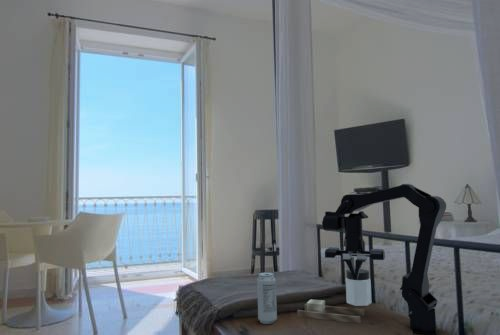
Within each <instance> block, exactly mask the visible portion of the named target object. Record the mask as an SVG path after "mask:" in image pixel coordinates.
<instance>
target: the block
mask: <svg viewBox="0 0 500 335" xmlns="http://www.w3.org/2000/svg"><path fill="white" fill-rule="evenodd" d="M306 304H307V310H306V311H314V312H324V313H327V312H326V311H325V306H326V300H322V299H309V300H308V301H307V302H306Z"/></svg>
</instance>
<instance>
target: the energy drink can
mask: <svg viewBox="0 0 500 335" xmlns="http://www.w3.org/2000/svg"><path fill="white" fill-rule="evenodd" d="M274 275H275V274H274V273H273V272H259V274H258V277H257V279H256V284H257V286H256V287H257V288H256V289H257V290H256V291H257V320H258V321H259V323H261V324H264V325H272V324H275V322H276V320H277V319H278V313H277V306H278V305H277V280H276V277H275V276H274Z"/></svg>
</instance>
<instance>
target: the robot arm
mask: <svg viewBox="0 0 500 335" xmlns="http://www.w3.org/2000/svg"><path fill="white" fill-rule="evenodd" d="M403 198H404V199H406V200H408V201H409V203H411V204H412V205H413V206H416V207H417V208H418V219H419V224H420V225H419V231H418V236H417V240H416V245H415V251H414V255H413V260H412V266H411V270H410V272H409V273H408V274H405V275H404V276H402V279H401V283H402V284H401V287H400V288H399V291H401V297H402V298H403V301H405V302H406V303H407V306H408V309H409V311H410V312H409V325H410V326H409V327H410V329H411V331H412V333H415V334H422V335H438V330H437V329H438V328H437V321H436V317H437V316H436V306H437V305H438V302H439V301H438V299H437V298H436V297H435V296H434V295H433V294H432V293H431V292H430V282H429V281H430V280H429V275H428V272H429V266H430V263H431V262H430V261H431V258H432V254H433V253H432V252H433V247H434V242H435V237H436V233H437V228H438V227H439V225H440V223H441V222H442V220H443V217H444V214H445V212H446V210H447V202H446V201H445V199H443V198H442V197H441V196H438V195H431V194H429V193H427V191H423V190H422V189H419V188H417V187H416V186H414V185H413V184H410V183H402V184H401V185H398V186H393V187H389V188H385V189H380V190H376V191H373V192H368V193H351V194H345V195H343V196H342V198H341V200H340V204H339V206H338V207H337V208H336V211H330V210H329V211H325V212H324V214H325V215H324V216H323V219H322V221H321V224H322V228H323V230H324V231H326V232H343V231H344V240H343V246H344V247H345V248H344V249H345V250H344V249H340V247H327V248H326V249H324V257H325V258H326V259H327V258H329V259H330V258H331V259H334V258H336V257H337V256H342V260H341V261H343V262H345V263H346V265H347V267H348V270H349V269H350V271H351V274H352V276H353V278H354V280H357V279H358V275H359V271H360V269H362V265H363V263H366V262H367V260H368V258H369V257H370V258H371V260H374V261H375V260H376V261H384V260H385V258H386V251H385V250H384V248H372V249H370V250H366V242H365V239H364V236H363V232H364V231H363V219H368V218H369V215H367V214H366V213H365V212H364V209H367V208H369V207H370V206H373V205H375V204H380V203H385V202H389V201H394V200H398V199H403ZM355 212H358V213H355ZM346 215H347V216H346ZM355 257H356V259H355Z"/></svg>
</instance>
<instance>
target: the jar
mask: <svg viewBox="0 0 500 335" xmlns="http://www.w3.org/2000/svg"><path fill="white" fill-rule="evenodd" d="M345 274H346V277H345V292H346V293H345V295H346V296H345V297H346V304H349V305H352V306H353V307H355V306H356V307H359V306H362V307H363V306H366V307H367V306H369V305H371V304H372V284H371V278H370V270H367V269H364V268H360V271H359V275H358V279H357V280H354V278H353V276H352V274H351V271H350V269H349V268H348V269H346V273H345Z"/></svg>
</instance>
